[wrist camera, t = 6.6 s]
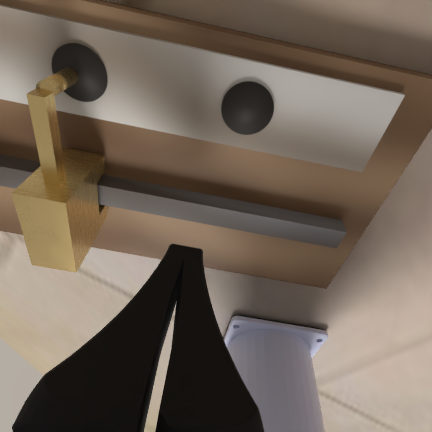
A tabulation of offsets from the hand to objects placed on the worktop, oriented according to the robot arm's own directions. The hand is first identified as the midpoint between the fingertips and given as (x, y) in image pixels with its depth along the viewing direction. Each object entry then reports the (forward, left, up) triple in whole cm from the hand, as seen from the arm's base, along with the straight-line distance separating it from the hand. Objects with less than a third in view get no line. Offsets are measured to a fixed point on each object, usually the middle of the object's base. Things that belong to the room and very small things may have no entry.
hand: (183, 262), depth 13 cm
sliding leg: (+2, +6, -4) cm, 7 cm away
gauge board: (+2, +3, -6) cm, 6 cm away
